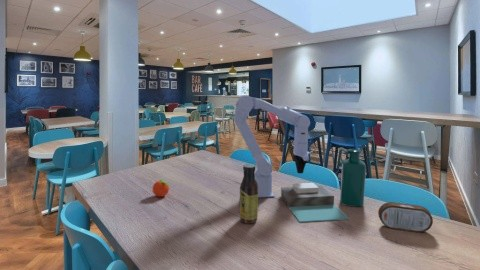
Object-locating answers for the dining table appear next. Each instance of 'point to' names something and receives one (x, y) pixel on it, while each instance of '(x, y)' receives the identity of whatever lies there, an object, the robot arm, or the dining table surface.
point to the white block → (305, 188)
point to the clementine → (160, 188)
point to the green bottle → (352, 179)
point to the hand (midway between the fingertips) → (300, 172)
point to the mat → (318, 213)
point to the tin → (405, 217)
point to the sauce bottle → (249, 195)
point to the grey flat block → (306, 197)
